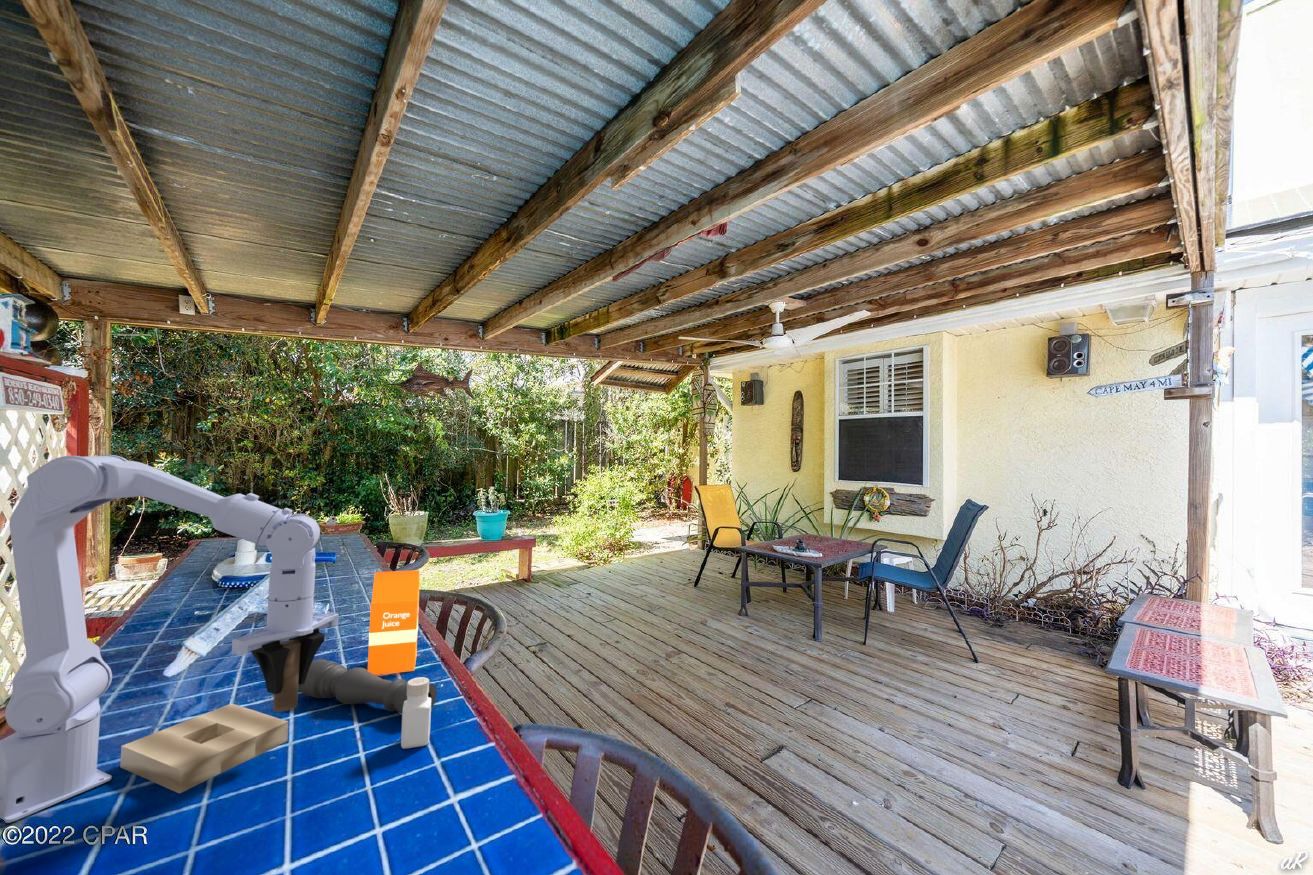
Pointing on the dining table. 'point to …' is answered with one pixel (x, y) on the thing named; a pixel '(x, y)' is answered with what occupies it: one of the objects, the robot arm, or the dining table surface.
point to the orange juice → (394, 622)
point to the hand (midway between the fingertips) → (286, 687)
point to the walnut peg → (289, 678)
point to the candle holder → (356, 686)
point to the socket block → (203, 746)
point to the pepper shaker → (416, 714)
